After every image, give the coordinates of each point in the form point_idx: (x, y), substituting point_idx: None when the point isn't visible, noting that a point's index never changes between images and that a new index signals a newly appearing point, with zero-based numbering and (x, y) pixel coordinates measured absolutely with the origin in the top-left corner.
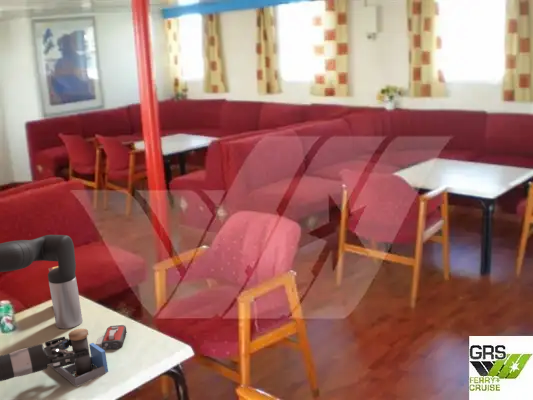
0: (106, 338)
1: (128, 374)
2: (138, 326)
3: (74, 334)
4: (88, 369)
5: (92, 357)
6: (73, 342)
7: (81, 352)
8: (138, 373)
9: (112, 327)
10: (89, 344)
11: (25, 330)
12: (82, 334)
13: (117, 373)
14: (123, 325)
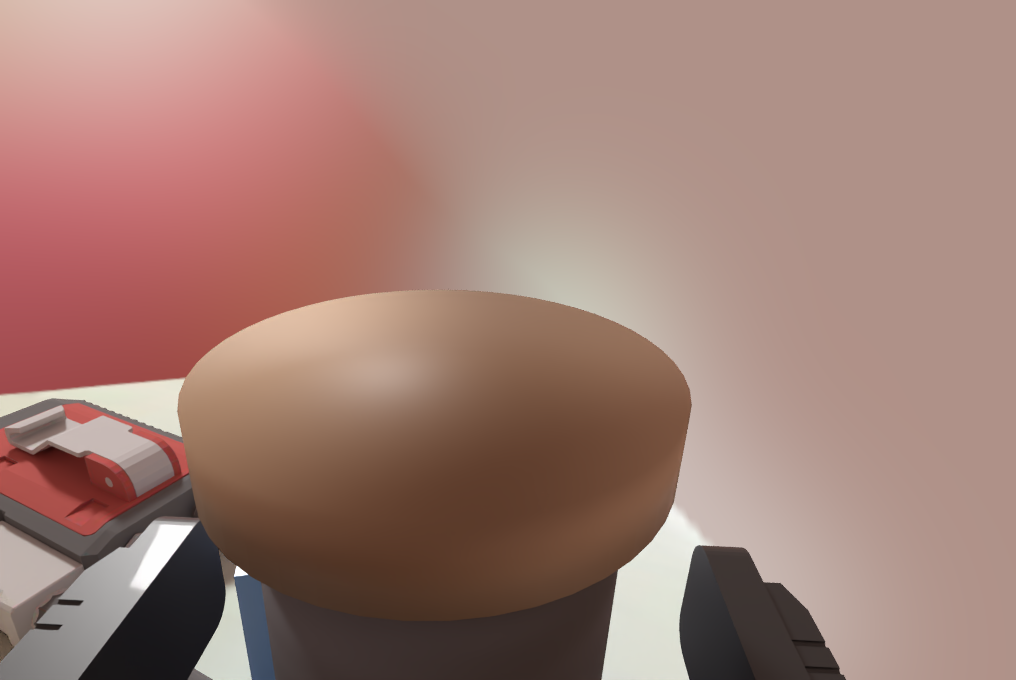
0: (82, 506)
1: (674, 577)
2: (112, 393)
3: (465, 412)
4: None
5: None
6: (548, 627)
7: (838, 667)
8: (686, 530)
9: (19, 425)
10: (241, 579)
11: None
12: (585, 341)
13: (620, 632)
14: (59, 399)
